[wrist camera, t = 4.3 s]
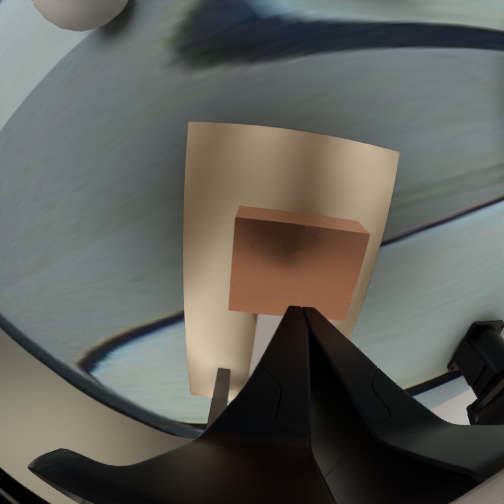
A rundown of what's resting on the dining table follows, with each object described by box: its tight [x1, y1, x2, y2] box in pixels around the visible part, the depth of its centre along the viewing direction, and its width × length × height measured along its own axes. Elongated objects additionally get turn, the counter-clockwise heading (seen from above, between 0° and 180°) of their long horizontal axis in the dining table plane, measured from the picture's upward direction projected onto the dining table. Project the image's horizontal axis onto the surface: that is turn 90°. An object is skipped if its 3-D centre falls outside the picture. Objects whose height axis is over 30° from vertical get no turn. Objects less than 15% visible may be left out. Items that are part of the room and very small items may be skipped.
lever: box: [228, 206, 370, 379], centre depth 14 cm, size 5×17×2 cm, turn 174°
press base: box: [183, 122, 400, 429], centre depth 16 cm, size 12×22×8 cm, turn 174°
